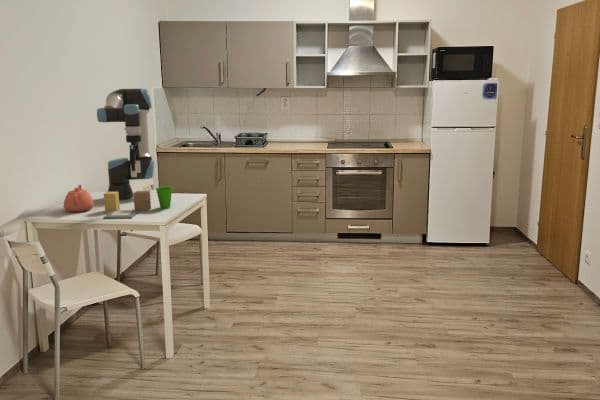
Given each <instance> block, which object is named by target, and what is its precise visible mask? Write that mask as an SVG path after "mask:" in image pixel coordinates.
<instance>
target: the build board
mask: <svg viewBox="0 0 600 400" xmlns="http://www.w3.org/2000/svg"><path fill="white" fill-rule="evenodd" d="M138 213H139V210H135V209H132V210H131V209H130V210H128V209H127V210H119V211H111V212H107V213H106V215H104V216H103V220H111V219H113V220H115V219H116V220H117V219H118V220H119V219H123V220H124V218H125V219H126V218H127V219H133V218H134V217H135V216H136V215H137V214H138Z"/></svg>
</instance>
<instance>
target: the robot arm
mask: <svg viewBox="0 0 600 400" xmlns="http://www.w3.org/2000/svg"><path fill="white" fill-rule="evenodd" d="M96 109H97V110H96V117H97V122H99V123H124V129H123V130H124V131H125V134H126V135H125V141H126V143H128V144H129V143H130V144H129V146H128V147H129V158H128V157H120V158H115V159H111V160H109V161H108V162H107V171H108V173H107V174H108V190H107V192H119V201H121V200H128V199H132V198H134V194H133V193H134V191H133V189H132V187H131V182H130V180H132V181H134V180H136V181H137V180H151V179H153V177H154V174H155V173H154V172H155V159H154V158H153V157H152V155H151V154H150V147H149V130H148V129H149V128H148V127H149V126H148V114H149V113H150V109H152V100H151V96H150V92H149V89H147V88H121V89H120V88H119V89H116V90H114V91H111V92H110V93H109V94H108V95H107V96H106V99H105V105H104V106H103V107H99V108H96Z"/></svg>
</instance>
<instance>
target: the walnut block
mask: <svg viewBox="0 0 600 400" xmlns="http://www.w3.org/2000/svg"><path fill="white" fill-rule="evenodd" d="M151 203H152V202H151V190H136V191H135V192H133V204H134V205H133V207H134V210H139V212H145V213H146V212H147V213H148V212H149V211H150V210H151V209H152V204H151ZM139 212H138V213H139Z"/></svg>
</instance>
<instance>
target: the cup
mask: <svg viewBox="0 0 600 400" xmlns="http://www.w3.org/2000/svg"><path fill="white" fill-rule="evenodd" d="M173 188H174V187H172V186H159V187H156V188H155V190H156V194H157V198H158V203H159V207H160V209H162V210H163V209H164V210H166V209H170V208H171V203H172V195H173V194H172V193H173Z"/></svg>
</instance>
